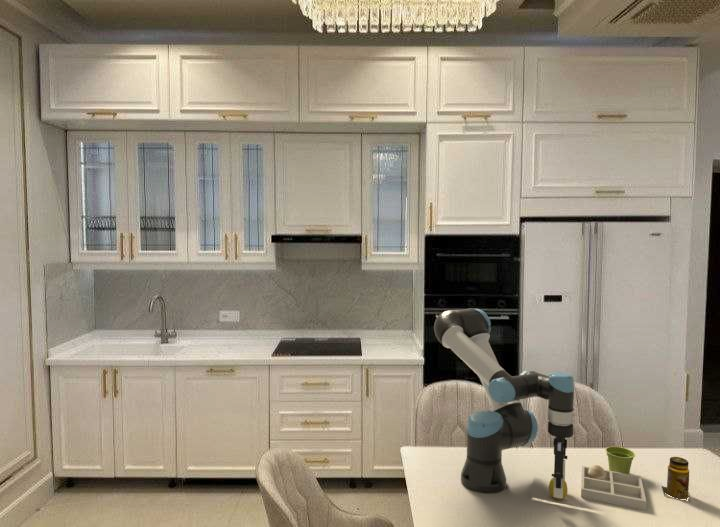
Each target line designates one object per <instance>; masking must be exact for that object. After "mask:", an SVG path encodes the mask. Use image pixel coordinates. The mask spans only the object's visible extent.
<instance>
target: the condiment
mask: <svg viewBox="0 0 720 527" xmlns="http://www.w3.org/2000/svg"><path fill="white" fill-rule="evenodd" d="M668 464H669V465H668V466H667V481H666V486H664V485H661V490H662V493H663V496H664V497H667V498H671V499H674V498H678V499H686V500H687V498H688V495H689V496H690V493H689V487H690V486H689V485H690V469H689V460H687V458H683V457H680V456H671V457H669V463H668ZM665 493H666V494H668V495H670V496H672V497H674V498H672V497H669V496H667V495H666V494H665ZM678 499H677V500H678ZM689 499H691V498H690V497H689ZM689 499H688V502H687V503H690V502H691V500H689Z"/></svg>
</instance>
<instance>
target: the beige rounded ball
mask: <svg viewBox="0 0 720 527" xmlns="http://www.w3.org/2000/svg"><path fill="white" fill-rule="evenodd" d="M589 467H590V468H589V470H588V475H589V477H590V478H593V479H599V480H605V478H606V472H605V470H606V469H605V468H604V467H602V466H601V465H597V464H594V465H592V466H589Z"/></svg>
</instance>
